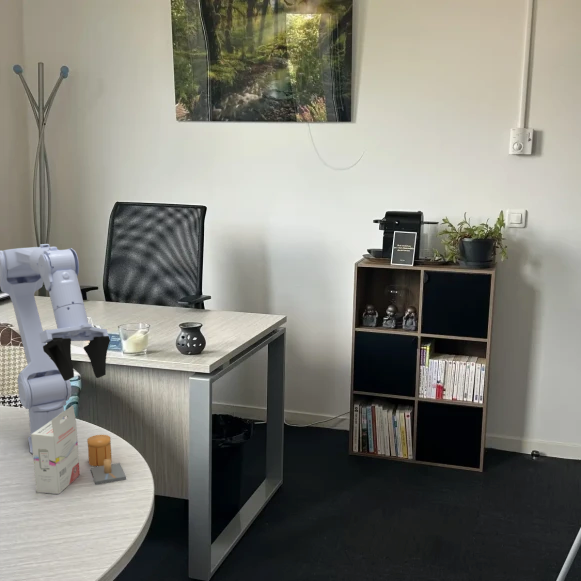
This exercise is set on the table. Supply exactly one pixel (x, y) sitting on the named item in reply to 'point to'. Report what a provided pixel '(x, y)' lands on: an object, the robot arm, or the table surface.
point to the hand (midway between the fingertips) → (85, 377)
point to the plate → (107, 472)
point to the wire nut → (99, 449)
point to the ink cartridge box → (56, 453)
